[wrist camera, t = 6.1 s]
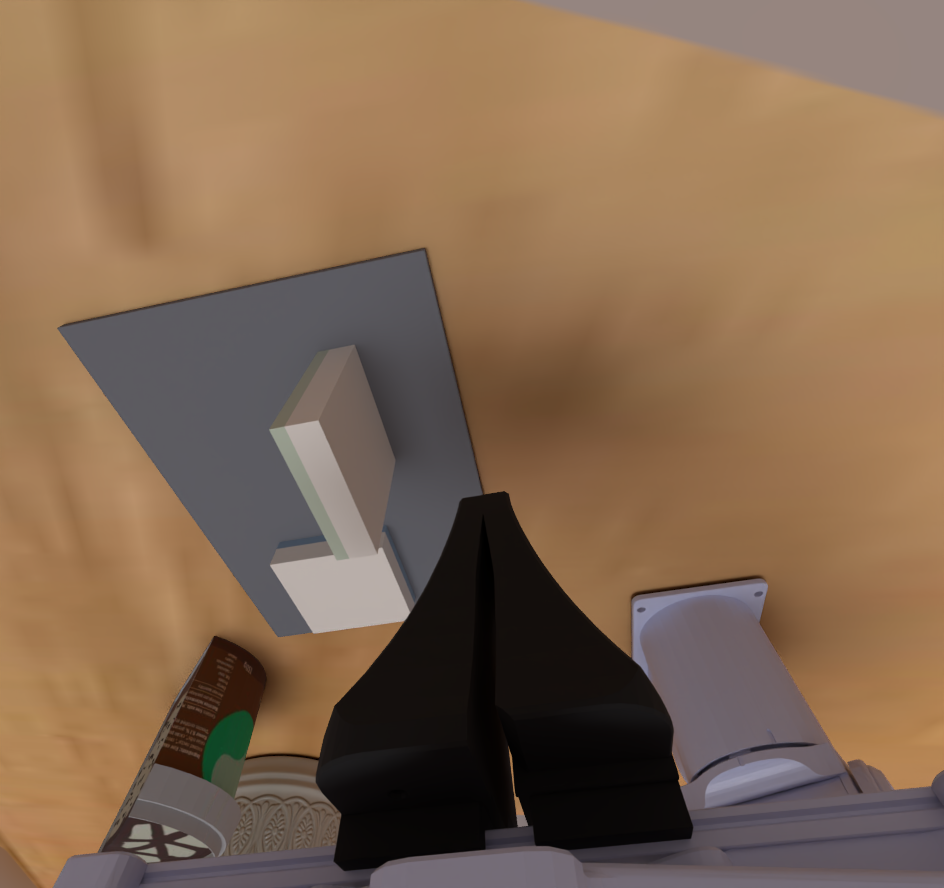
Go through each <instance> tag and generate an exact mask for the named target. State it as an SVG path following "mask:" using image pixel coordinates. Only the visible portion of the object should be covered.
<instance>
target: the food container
mask: <svg viewBox="0 0 944 888" xmlns="http://www.w3.org/2000/svg"><path fill="white" fill-rule="evenodd" d="M265 684H266V673H265V671H264V668H263V667H262V665H261V664H260V662H259V661H258V660H257V659H256V658H255V657H254V656H253V655H251V654H250V653H249V652H247V651H246V650H244V649H243V648H241V647H239V646H238V645H236V644H234V643H232V642H229V641H227V640H225V639H222V638H219V637H216V636H214V637H213V639H212V640H211V642H210V643H209V645H208V647H207V648H206V650H205V652H204V653H203V655H202V656H201V658H200V660H199V661H198V663H197V665H196V666H195V668H194V669H193V671H192V673H191V674H190V676H189V677H188V679H187V681H186V682H185V684H184V686H183V687H182V689H181V690H180V692H179V694H178V695H177V697H176V699H175V700H174V702H173V704H172V706H171V708H170V710H169V712H168V714H167V716H166V718H165V720H164V722H163V724H162V726H161V728H160V730H159V732H158V734H157V736H156V738H155V740H154V742H153V744H152V746H151V748H150V750H149V752H148V754H147V756H146V758H145V760H144V762H143V764H142V766H141V768H140V770H139V772H138V774H137V776H136V778H135V780H134V782H133V784H132V786H131V788H130V790H129V792H128V794H127V796H126V798H125V800H124V802H123V804H122V806H121V808H120V810H119V812H118V814H117V816H116V818H115V820H114V822H113V824H112V826H111V828H110V830H109V832H108V834H107V836H106V838H105V839H104V841H103V843H102V845H101V847H100V849H99V851H98V853H103V852H112V851H123V852H129V853H132V854H135V855H137V856H139V857H141V858H142V859H144V860H145V861H146V863H147V864H149V863H160V862H170V861H180V860H190V859H200V858H210V857H220V856H221V855H222V854H223V852H224V851H225V849H226V847H227V845H228V843H229V841H230V840H231V838H232V836H233V834H234V832H235V830H236V828H237V826H238V824H239V822H240V819H241V810H240V807H239V806H238V804H237V802H236V801H235V800H234V798H235V795H236V791H237V787H238V784H239V780H240V776H241V772H242V769H243V765H244V761H245V758H246V754H247V750H248V747H249V743H250V739H251V736H252V732H253V728H254V725H255V721H256V717H257V714H258V710H259V706H260V703H261V699H262V695H263V691H264V688H265Z"/></svg>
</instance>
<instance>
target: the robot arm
mask: <svg viewBox="0 0 944 888" xmlns="http://www.w3.org/2000/svg"><path fill="white" fill-rule="evenodd" d="M767 589H768V585H767V583H766V582H765V580H764V579H751V580H744V581H736V582H729V583H722V584H715V585H708V586H700V587H693V588H686V589H679V590H671V591H664V592H657V593H650V594H642V595H637V596H635V597H634V598H633V599H632V601H631V607H632V659H631V658H630V657H629V656H628V655H627V654H625V653H624V652H623V651H622V650H621V649H620V648H619V647H617V646H616V645H615V644H614V643H613V642H612V641H611V640H610V639H609V638H608V637H607V636H606V635H605V634H603V633H602V632H601V631H600V630H599V629H598V628H597V627H596V626H595V625H594V624H593V623H592V622H591V620H590V619H589V618H588V617H587V616H586V615H585V614H584V613H583V612H582V611H581V610H580V609H579V608H578V607H577V606H576V605H575V604H574V602H573V601H572V600H571V599H570V598H569V597H568V595H567V594H566V593H565V592H564V591H563V589H562V588H561V587H560V586H559V584H558V583H557V582H556V581H555V579H554V578H553V577H552V575H551V574H550V573H549V571H548V570H547V568H546V567H545V566H544V564H543V563H542V561H541V560H540V558H539V557H538V555H537V554H536V552H535V551H534V549H533V547H532V546H531V544H530V542H529V541H528V539H527V537H526V535H525V534H524V532H523V530H522V528H521V526H520V524H519V522H518V520H517V518H516V515H515V513H514V511H513V508H512V505H511V502H510V497H509V494H508V493H506V492H505V491H503V492H497V493H491V494H485V495H479V496H473V497H466V498H462V499H461V500H460V502H459V506H458V510H457V513H456V517H455V520H454V523H453V526H452V528H451V531H450V534H449V537H448V539H447V541H446V544H445V546H444V549H443V551H442V554H441V556H440V558H439V560H438V562H437V565H436V567H435V569H434V571H433V573H432V575H431V577H430V579H429V581H428V583H427V585H426V587H425V588H424V590H423V592H422V594H421V596H420V597H419V599H418V601H417V602H416V604H415V606H414V607H413V609H412V611H411V612H410V614H409V615H408V617H407V618H406V620H405V621H404V623H403V624H402V626H401V627H400V629H399V630H398V632H397V633H396V634H395V636H394V637H393V639H392V640H391V641H390V643H389V644H388V645H387V646H386V648H385V649H384V650H383V651H382V653H381V654H380V655H379V657H378V658H377V659H376V660H375V662H374V663H373V664H372V665H371V667H370V668H369V669H368V670H367V671H366V673H365V674H364V675H363V676H362V677H361V678H360V679H359V680H358V681H357V682H356V684H355V685H354V686H353V687H352V688H351V689H350V690H349V691H348V692H347V693H346V694H345V696H344V697H343V698H342V699H341V700H340V701H339V702H338V703H337V704H336V705H335V706H334V709H333V712H332V715H331V718H330V721H329V724H328V727H327V730H326V733H325V735H324V739H323V744H322V748H321V753H320V757H319V762H318V766H317V771H316V780H315V782H316V784H317V786H318V787H319V789H320V791H321V792H322V794H323V795H324V796H325V797H326V798H327V799H328V800H329V801H330V802H331V803H332V804H333V805H334V807H335V808H336V809H337V810H338V811H339V812H340V813H341V819H340V825H339V831H338V837H337V843H336V845H332V846H322V847H312V848H301V849H291V850H281V851H271V852H261V853H251V854H241V855H230V856H220V857H210V858H200V859H190V860H180V861H170V862H160V863H149V864H147V863H146V861H145V860H144V859H142V858H141V857H139V856H137V855H135V854H132V853H129V852H123V851H112V852H103V853H93V854H83V855H74V856H72V857H70V858H69V859H68V860H67V862H66V864H65V866H64V868H63V869H62V871H61V873H60V875H59V877H58V879H57V881H56V883H55V885H54V886H53V888H944V770H943V771H942V772H940V773H939V774H938V775H937V776H936V777H935V778H934V780H933V782H932V785H931V786H930V787H919V788H909V789H899V790H894V789H893V787H892V786H891V784H890V783H889V781H888V780H887V778H886V777H885V775H884V774H883V773H882V772H881V771H880V770H878V769H876V768H874V767H872V766H870V765H866V764H865V763H864V762H863V761H862V760H853V761H850V762H847V763H848V765H849V766H848V765H847V764H846V763H845V761H844V760H843V759H842V758H841V756H840V755H839V754H838V753H837V751H836V750H835V749H834V747H833V746H832V744H831V742H830V740H829V739H828V737H827V735H826V734H825V732H824V730H823V729H822V727H821V725H820V724H819V722H818V720H817V719H816V717H815V715H814V714H813V712H812V710H811V709H810V707H809V705H808V704H807V702H806V700H805V699H804V697H803V695H802V694H801V692H800V690H799V689H798V687H797V685H796V684H795V682H794V680H793V679H792V677H791V675H790V674H789V672H788V670H787V669H786V667H785V665H784V664H783V662H782V660H781V659H780V657H779V655H778V654H777V652H776V650H775V649H774V647H773V645H772V644H771V642H770V640H769V639H768V637H767V635H766V634H765V632H764V630H763V629H762V627H761V625H760V624H759V622H760V618H761V614H762V610H763V605H764V601H765V597H766V593H767ZM508 746H509V748H508ZM509 749H510V752H511V755H512V762H513V774H514V786H515V794H516V797H519V800H520V803H521V806H522V809H523V812H524V815H525V817H526V820H527V823H528V826H524V827H518V825H517V817H516V809H515V800H514V792H513V783H512V775H511V766H510V757H509ZM672 753H673V756H674V759H675V762H676V764H677V767H678V769H679V771H680V773H681V775H682V776H683V778H684V780H685V781H686V782H687V785H684V786H681V787H680V785H679V782H678V780H679V774H678V771H677V768H676V765H675V762H674V759H673V756H672Z"/></svg>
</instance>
